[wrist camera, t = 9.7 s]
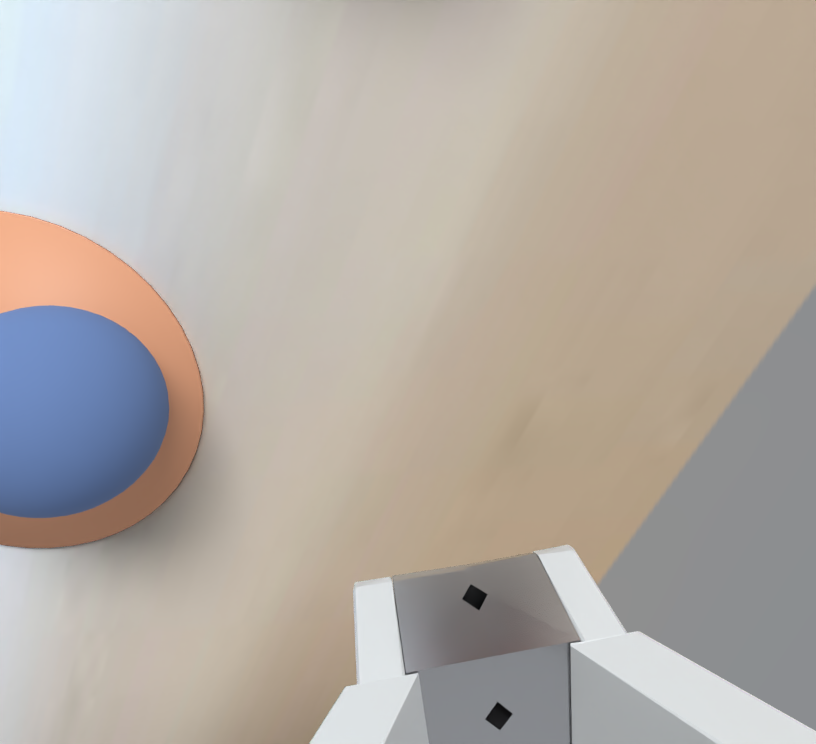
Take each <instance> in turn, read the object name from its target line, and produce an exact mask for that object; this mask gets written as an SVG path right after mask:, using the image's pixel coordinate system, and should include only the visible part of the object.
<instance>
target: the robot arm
mask: <svg viewBox="0 0 816 744" xmlns="http://www.w3.org/2000/svg"><path fill="white" fill-rule="evenodd" d="M392 578H393V583H392ZM392 578H391V577H385V578H379V579H373V580H366V581H360V582H355V584H354V589H353V598H354V622H355V646H356V670H357V684H356V685H352V686H347V687H345V688H344V689H343V691H342V692H341V694H340V696H339V697H338V699H337V700H336V702H335V703H334V705H333V707H332V708H331V710H330V711H329V713H328V714H327V716H326V718H325V719H324V721H323V722H322V724H321V726H320V727H319V729H318V730H317V732H316V733H315V735H314V737H313V738H312V740H311V741H310V743H309V744H816V731H815V730H813V729H811V728H809V727H808V726H806V725H804V724H802V723H800V722H799V721H797V720H795V719H793V718H792V717H790V716H788V715H786V714H785V713H783V712H781V711H779V710H777V709H775V708H774V707H772V706H770V705H769V704H767V703H765V702H763V701H761V700H760V699H758V698H756V697H754V696H753V695H751V694H749V693H747V692H746V691H744V690H742V689H740V688H739V687H737V686H735V685H733V684H731V683H730V682H728V681H726V680H724V679H723V678H720V677H719V676H717V675H716V674H714V673H712V672H710V671H708V670H707V669H705V668H703V667H701V666H700V665H698V664H696V663H694V662H693V661H691V660H689V659H687V658H685V657H684V656H682V655H680V654H678V653H677V652H675V651H673V650H671V649H670V648H668V647H666V646H664V645H662V644H660V643H659V642H657V641H655V640H654V639H652V638H650V637H648V636H647V635H644V634H643V633H641V632H639V631H637V632H631V633H627V632H626V630H625V629H624V627H623V626H622V624H621V622H620V621H619V619H618V618H617V616H616V614H615V613H614V611H613V610H612V608H611V607H610V605H609V603H608V602H607V600H606V599H605V597H604V595H603V594H602V592H601V591H600V589H599V588H598V586H597V584H596V583H595V581H594V580H593V578H592V576H591V575H590V573H589V572H588V570H587V568H586V567H585V565H584V564H583V562H582V561H581V559H580V557H579V556H578V554H577V553H576V551H575V549H574V548H572V547H571V546H569V545H563V546H558V547H553V548H548V549H543V550H538V551H533V553H527V554H522V555H516V556H511V557H505V558H500V559H494V560H489V561H483V562H478V563H472V564H467V565H460V566H454V567H447V568H441V569H434V570H427V571H421V572H414V573H408V574H401V575H395V576H392ZM393 586H394V589H393ZM394 594H395V595H394ZM395 601H396V602H395Z"/></svg>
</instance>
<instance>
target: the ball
mask: <svg viewBox="0 0 816 744" xmlns="http://www.w3.org/2000/svg"><path fill="white" fill-rule="evenodd" d="M168 420H169V399H168V391H167V386H166V382H165V379H164V377H163V374H162V371H161V369H160V367H159V365H158V364H157V362H156V360H155V358H154V357H153V356H152V354H151V353H150V352H149V350H148V349H147V348H146V347H145V346H144V345H143V344H142V343H141V341H140V340H139V339H138V338H137V337H135V336H134V335H133V334H132V333H130V332H129V331H128V330H127V329H125V328H124V327H122V326H120V325H119V324H117V323H115V322H114V321H112V320H110V319H107V318H105V317H103V316H101V315H98V314H95V313H92V312H89V311H86V310H82V309H77V308H72V307H65V306H54V305H49V306H32V307H25V308H19V309H15V310H12V311H8V312H4V313H0V513H3V514H7V515H12V516H18V517H27V518H52V517H60V516H67V515H72V514H76V513H80V512H83V511H86V510H89V509H92V508H95V507H97V506H99V505H101V504H103V503H105V502H107V501H109V500H111V499H113V498H114V497H116V496H117V495H119V494H120V493H122V492H124V491H125V490H126V489H127V488H129V487H130V486H131V485H132V484H133V483H135V481H136V480H137V479H138V478H139V477H140V476H141V475H142V474H143V473H144V472H145V471H146V470H147V468H148V467H149V466H150V464H151V463H152V461H153V460H154V459H155V457H156V455H157V453H158V451H159V449H160V447H161V444H162V442H163V439H164V436H165V434H166V430H167V425H168Z"/></svg>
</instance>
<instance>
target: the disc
mask: <svg viewBox="0 0 816 744" xmlns="http://www.w3.org/2000/svg"><path fill="white" fill-rule="evenodd" d="M49 305H54V306H65V307H72V308H77V309H82V310H86V311H89V312H92V313H95V314H98V315H101V316H103V317H105V318H107V319H110V320H112V321H114V322H115V323H117V324H119V325H120V326H122V327H124V328H125V329H127V330H128V331H129V332H130V333H132V334H133V335H134V336H135V337H137V338H138V339H139V340H140V341H141V343H142V344H143V345H144V346H145V347H146V348H147V349H148V350H149V352H150V353H151V354H152V356H153V357H154V358H155V360H156V362H157V364H158V365H159V367H160V369H161V371H162V374H163V377H164V379H165V382H166V386H167V391H168V399H169V420H168V425H167V430H166V434H165V436H164V439H163V442H162V444H161V447H160V449H159V451H158V453H157V455H156V457H155V459H154V460H153V461H152V463H151V464H150V466H149V467H148V468H147V470H146V471H145V472H144V473H143V474H142V475H141V476H140V477H139V478H138V479H137V480H136V481H135V483H133V484H132V485H131V486H130V487H129V488H127V489H126V490H125V491H124V492H122V493H120V494H119V495H117V496H116V497H114V498H113V499H111V500H109V501H107V502H105V503H103V504H101V505H99V506H97V507H95V508H92V509H89V510H86V511H83V512H80V513H76V514H72V515H67V516H60V517H52V518H27V517H18V516H12V515H7V514H3V513H0V544H1V545H6V546H16V547H26V548H54V547H64V546H73V545H78V544H83V543H87V542H92V541H96V540H99V539H102V538H105V537H108V536H111V535H114V534H116V533H118V532H120V531H122V530H124V529H126V528H128V527H131V526H133V525H134V524H136V523H137V522H139V521H140V520H142V519H143V518H145V517H146V516H148V515H150V514H151V513H152V512H153V511H154V510H155V509H157V508H158V507H159V506H160V505H161V504H162V503H163V502H165V500H166V499H167V498H168V497H169V496H170V495H171V493H172V492H173V491H174V490H175V489H176V488H177V486H178V485H179V483H180V482H181V480H182V479H183V477H184V475H185V474H186V472H187V471H188V469H189V467H190V464H191V462H192V460H193V457H194V455H195V453H196V451H197V447H198V443H199V440H200V436H201V432H202V424H203V414H204V403H203V388H202V383H201V377H200V372H199V368H198V365H197V362H196V359H195V356H194V353H193V350H192V347H191V345H190V343H189V341H188V339H187V337H186V335H185V333H184V331H183V329H182V327H181V325H180V324H179V322H178V321H177V319H176V318H175V316H174V315H173V313H172V311H171V310H170V308H169V307H168V305H167V304H166V303H165V302H164V301H163V300H162V298H161V297H160V296H159V295H158V294H157V292H156V291H155V290H154V289H153V288H152V286H151V285H149V284H148V283H147V282H146V281H145V280H144V279H143V278H142V277H141V276H140V275H139V274H138V273H137V272H136V271H135V270H134V269H132V268H131V267H130V266H129V265H127V264H126V263H125V262H123V261H122V260H121V259H119V258H118V257H117V256H115V255H114V254H113V253H111V252H110V251H108V250H107V249H105V248H103V247H101V246H100V245H98V244H96V243H95V242H93V241H91V240H89V239H88V238H86V237H84V236H82V235H80V234H77V233H75V232H73V231H71V230H68V229H66V228H64V227H62V226H59V225H56V224H53V223H50V222H47V221H44V220H41V219H37V218H34V217H31V216H25V215H20V214H15V213H10V212H5V211H0V313H4V312H8V311H12V310H15V309H19V308H25V307H32V306H49Z"/></svg>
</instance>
